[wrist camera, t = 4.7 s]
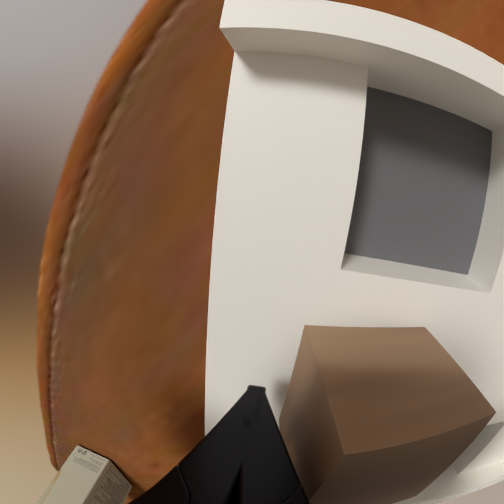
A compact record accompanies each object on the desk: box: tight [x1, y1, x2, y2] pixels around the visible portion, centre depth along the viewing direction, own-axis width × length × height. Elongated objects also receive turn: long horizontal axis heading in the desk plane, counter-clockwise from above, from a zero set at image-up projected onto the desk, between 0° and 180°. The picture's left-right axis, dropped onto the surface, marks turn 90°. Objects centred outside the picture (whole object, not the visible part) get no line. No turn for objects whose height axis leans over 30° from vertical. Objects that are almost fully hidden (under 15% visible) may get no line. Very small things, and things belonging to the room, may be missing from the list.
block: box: [279, 325, 496, 504], centre depth 6 cm, size 4×4×4 cm
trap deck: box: [205, 0, 504, 504], centre depth 8 cm, size 20×22×4 cm
